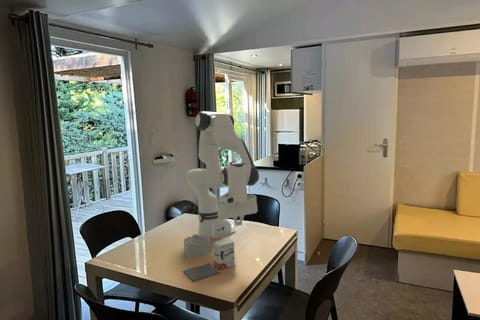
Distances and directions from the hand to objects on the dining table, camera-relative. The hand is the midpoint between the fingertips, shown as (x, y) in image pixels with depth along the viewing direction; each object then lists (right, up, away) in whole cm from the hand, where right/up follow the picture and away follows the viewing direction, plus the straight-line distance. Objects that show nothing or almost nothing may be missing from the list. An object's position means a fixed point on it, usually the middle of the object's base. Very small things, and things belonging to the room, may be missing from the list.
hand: (238, 225), depth 161 cm
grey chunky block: (-21, -17, +14) cm, 31 cm away
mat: (-17, -20, -8) cm, 27 cm away
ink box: (-6, -19, -1) cm, 20 cm away
